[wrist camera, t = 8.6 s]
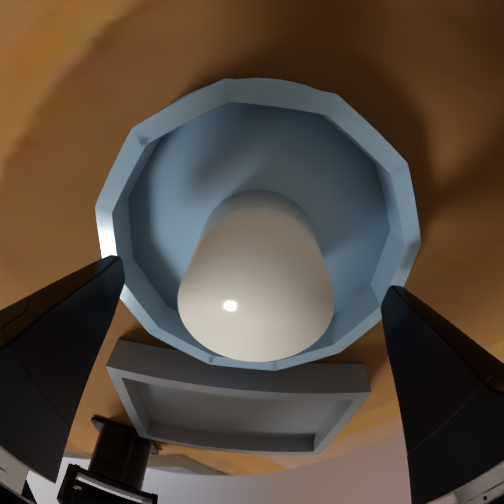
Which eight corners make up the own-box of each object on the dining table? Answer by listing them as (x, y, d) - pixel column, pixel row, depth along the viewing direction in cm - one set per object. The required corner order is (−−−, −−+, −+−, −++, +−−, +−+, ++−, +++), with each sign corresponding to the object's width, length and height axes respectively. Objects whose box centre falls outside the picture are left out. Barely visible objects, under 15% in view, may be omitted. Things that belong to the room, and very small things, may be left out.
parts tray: (317, 432, 21) (319, 454, 19) (145, 416, 21) (139, 436, 19) (363, 363, 16) (371, 392, 14) (118, 338, 16) (105, 365, 14)
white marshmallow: (302, 293, 13) (313, 365, 9) (201, 282, 12) (181, 353, 9) (324, 198, 10) (354, 254, 7) (204, 183, 10) (174, 233, 7)
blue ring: (353, 346, 15) (361, 375, 13) (133, 323, 15) (120, 351, 13) (430, 118, 9) (460, 126, 7) (114, 77, 9) (85, 77, 7)
